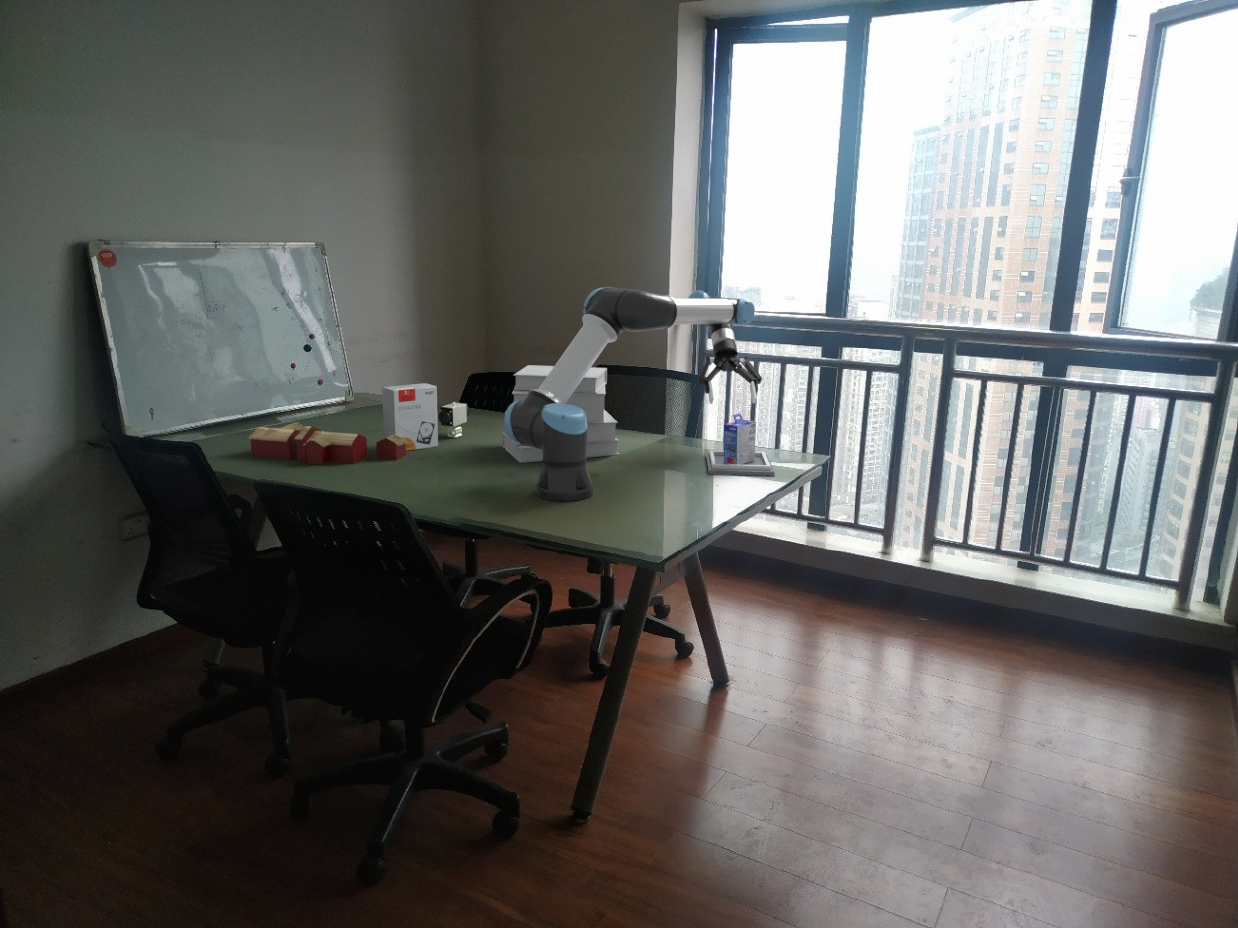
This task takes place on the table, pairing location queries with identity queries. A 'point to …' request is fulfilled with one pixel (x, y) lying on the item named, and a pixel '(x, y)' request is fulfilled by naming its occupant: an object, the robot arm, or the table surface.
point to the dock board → (750, 468)
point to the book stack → (584, 397)
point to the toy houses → (320, 445)
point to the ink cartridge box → (739, 441)
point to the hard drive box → (411, 414)
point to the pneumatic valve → (454, 417)
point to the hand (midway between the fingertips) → (733, 401)
